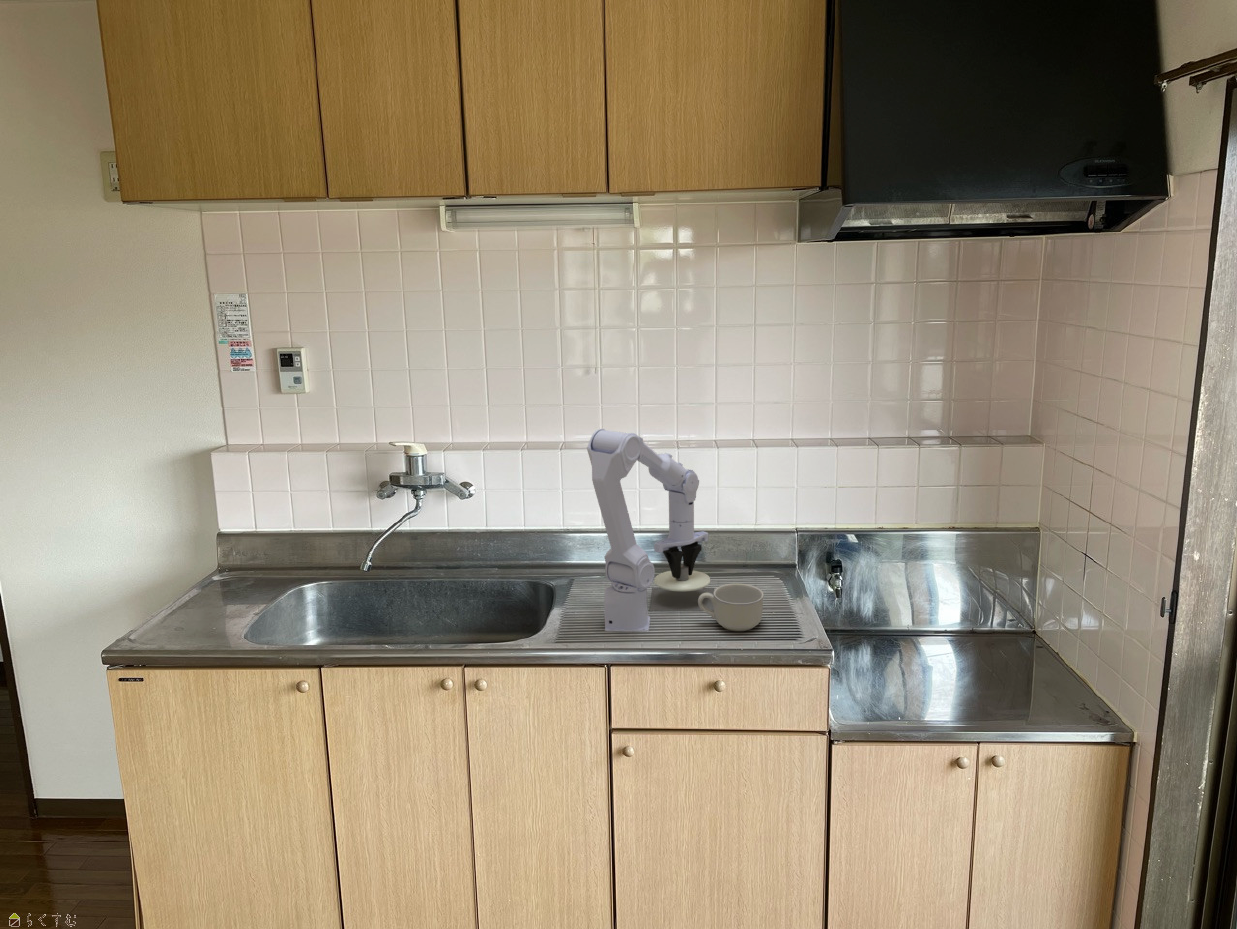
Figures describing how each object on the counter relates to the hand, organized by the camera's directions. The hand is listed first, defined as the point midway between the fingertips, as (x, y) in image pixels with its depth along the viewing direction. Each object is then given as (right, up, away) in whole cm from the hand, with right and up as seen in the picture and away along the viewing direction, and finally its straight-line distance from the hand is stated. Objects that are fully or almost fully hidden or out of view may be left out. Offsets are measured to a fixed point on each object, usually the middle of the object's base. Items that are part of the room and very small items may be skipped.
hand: (682, 575), depth 213 cm
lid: (0, -1, 0) cm, 1 cm away
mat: (0, -6, +1) cm, 6 cm away
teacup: (+10, -9, -14) cm, 20 cm away
